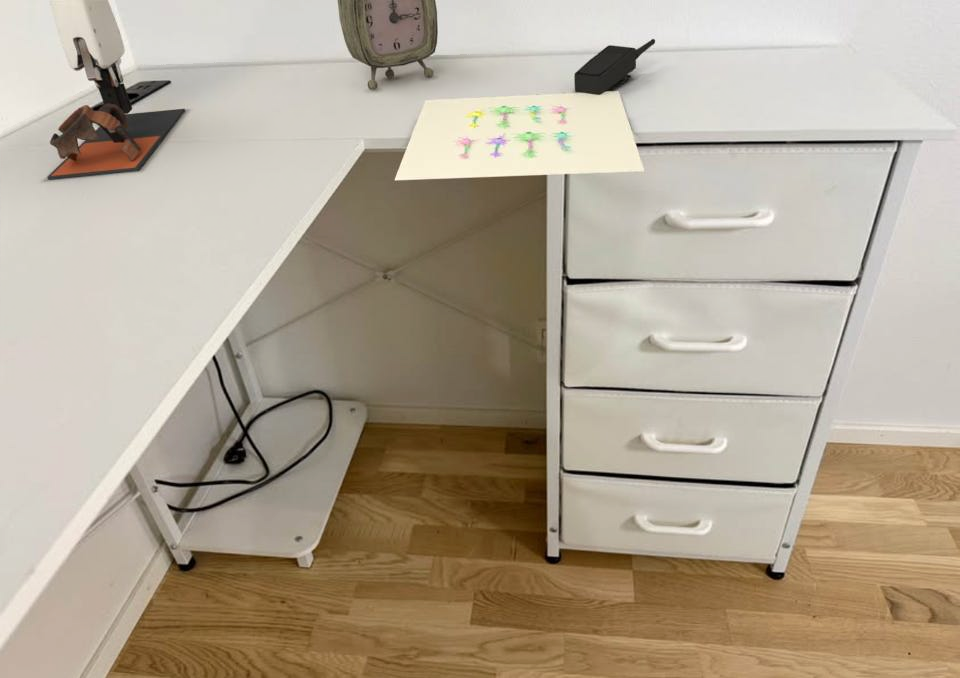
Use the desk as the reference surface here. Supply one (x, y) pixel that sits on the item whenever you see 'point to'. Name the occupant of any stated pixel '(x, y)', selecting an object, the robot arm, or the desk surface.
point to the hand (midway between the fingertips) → (120, 112)
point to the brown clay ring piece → (83, 129)
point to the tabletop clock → (389, 33)
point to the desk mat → (107, 154)
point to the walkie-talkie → (608, 69)
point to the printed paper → (521, 137)
